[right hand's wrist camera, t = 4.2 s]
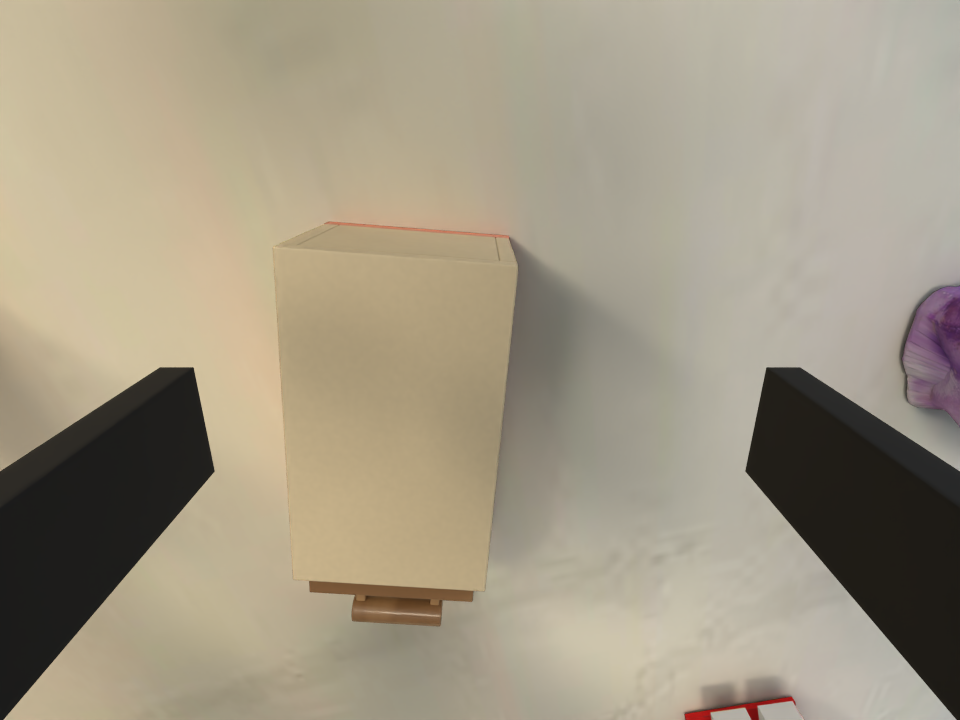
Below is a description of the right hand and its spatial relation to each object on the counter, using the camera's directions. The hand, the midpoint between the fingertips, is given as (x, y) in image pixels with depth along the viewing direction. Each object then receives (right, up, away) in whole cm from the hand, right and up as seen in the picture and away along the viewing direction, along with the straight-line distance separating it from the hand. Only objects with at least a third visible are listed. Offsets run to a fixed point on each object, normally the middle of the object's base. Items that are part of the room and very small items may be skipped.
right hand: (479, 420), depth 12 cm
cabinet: (-4, +1, +23) cm, 23 cm away
